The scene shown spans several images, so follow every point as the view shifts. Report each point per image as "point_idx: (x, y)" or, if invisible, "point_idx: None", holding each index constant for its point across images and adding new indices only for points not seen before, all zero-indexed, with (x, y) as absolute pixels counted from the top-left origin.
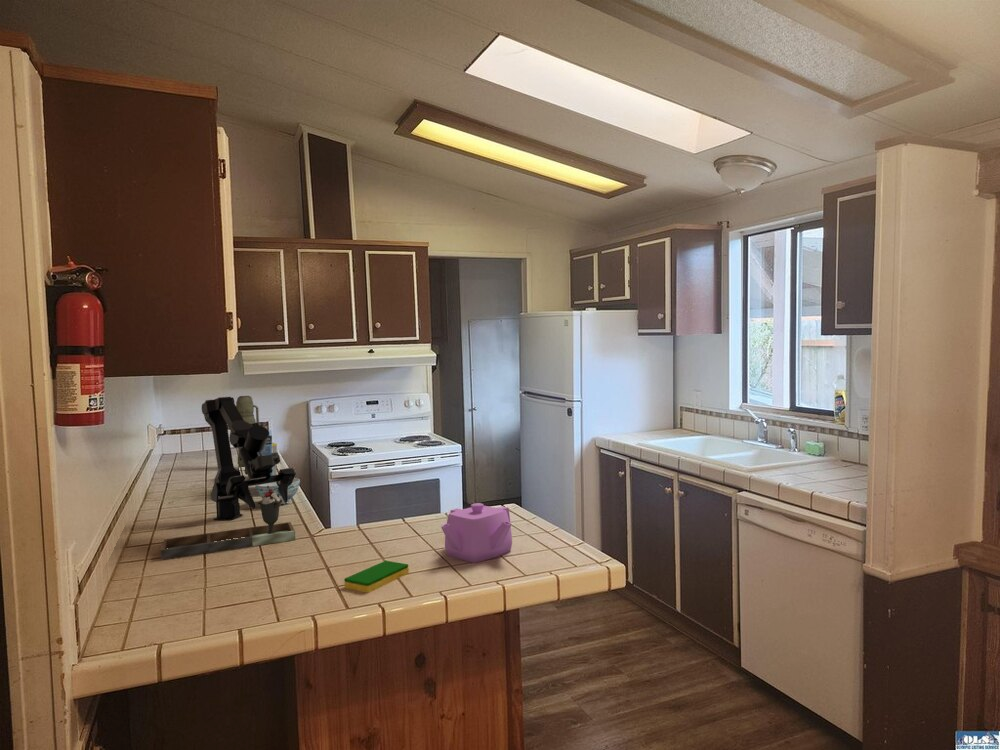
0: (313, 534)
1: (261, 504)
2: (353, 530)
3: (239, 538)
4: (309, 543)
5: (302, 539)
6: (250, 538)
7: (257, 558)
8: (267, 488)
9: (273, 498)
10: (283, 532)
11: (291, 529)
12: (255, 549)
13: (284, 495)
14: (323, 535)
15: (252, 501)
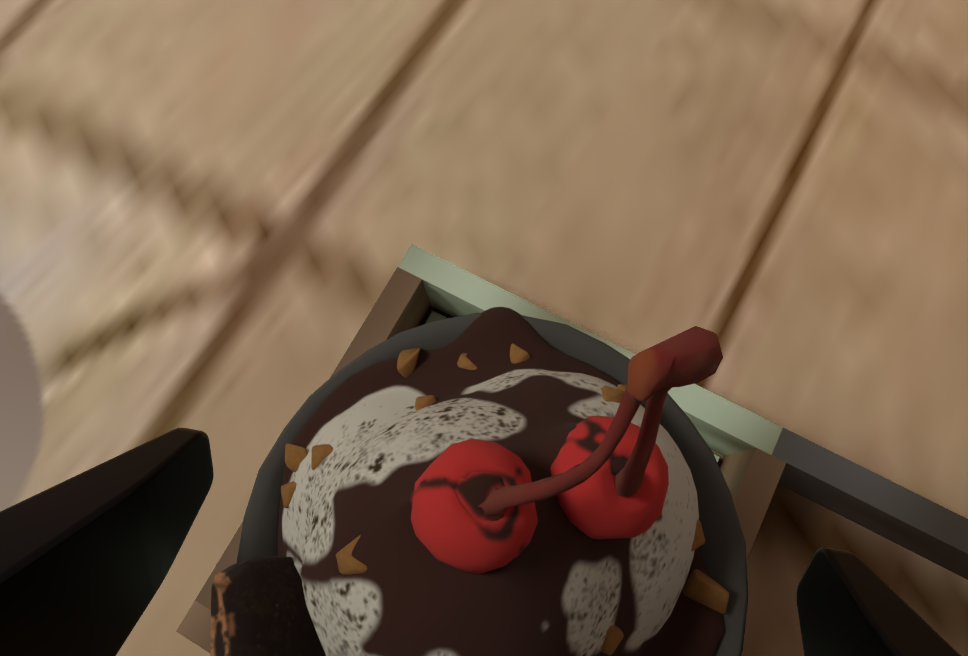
0: (230, 288)
1: (726, 483)
2: (12, 106)
3: (893, 511)
4: (425, 107)
5: (379, 242)
6: (794, 435)
7: (865, 115)
8: (648, 431)
9: (492, 390)
10: (498, 301)
11: (387, 328)
12: (771, 332)
13: (126, 509)
14: (217, 191)
15: (918, 645)
